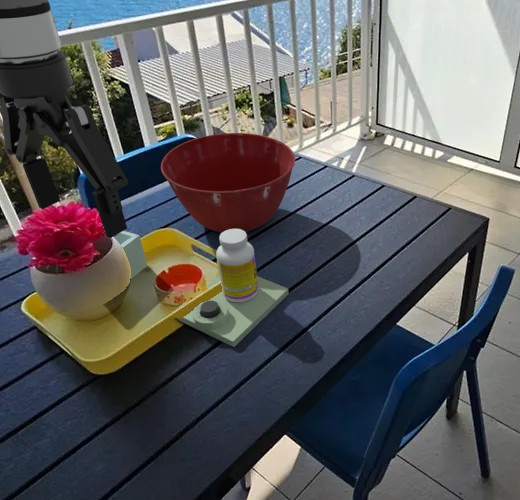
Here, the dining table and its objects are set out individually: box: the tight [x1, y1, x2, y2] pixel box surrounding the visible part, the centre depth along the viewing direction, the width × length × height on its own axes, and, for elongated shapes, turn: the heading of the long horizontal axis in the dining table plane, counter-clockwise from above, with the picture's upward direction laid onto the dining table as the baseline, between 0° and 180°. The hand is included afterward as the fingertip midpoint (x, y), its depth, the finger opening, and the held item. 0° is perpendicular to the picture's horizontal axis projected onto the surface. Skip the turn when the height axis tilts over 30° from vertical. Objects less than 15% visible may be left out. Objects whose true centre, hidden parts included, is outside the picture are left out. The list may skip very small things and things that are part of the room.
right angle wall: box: [115, 230, 149, 280], centre depth 97 cm, size 12×12×8 cm
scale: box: [172, 274, 290, 348], centre depth 92 cm, size 16×14×3 cm
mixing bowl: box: [160, 132, 296, 233], centre depth 113 cm, size 28×28×15 cm
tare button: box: [201, 301, 219, 318], centre depth 87 cm, size 3×3×2 cm
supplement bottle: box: [215, 229, 258, 303], centre depth 90 cm, size 7×7×13 cm
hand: (82, 218), depth 67 cm, fingers open, 13 cm apart
